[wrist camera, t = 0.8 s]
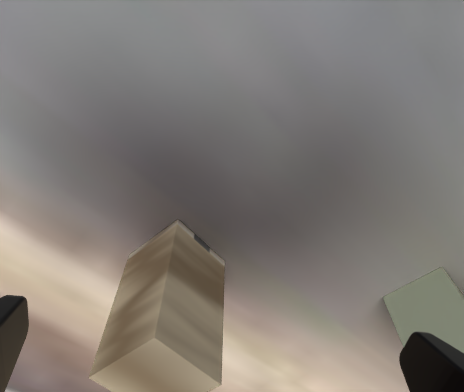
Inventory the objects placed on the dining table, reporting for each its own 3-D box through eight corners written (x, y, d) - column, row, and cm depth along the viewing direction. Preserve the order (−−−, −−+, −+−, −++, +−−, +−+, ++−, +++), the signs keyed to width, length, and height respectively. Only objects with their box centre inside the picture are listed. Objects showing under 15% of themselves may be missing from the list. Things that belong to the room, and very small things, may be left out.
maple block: (178, 219, 26) (154, 337, 18) (224, 261, 27) (221, 384, 20) (129, 254, 27) (88, 377, 19) (176, 292, 29) (156, 418, 21)
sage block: (441, 266, 28) (521, 391, 20) (469, 302, 29) (551, 429, 22) (382, 297, 29) (435, 423, 21) (411, 329, 31) (470, 456, 23)
